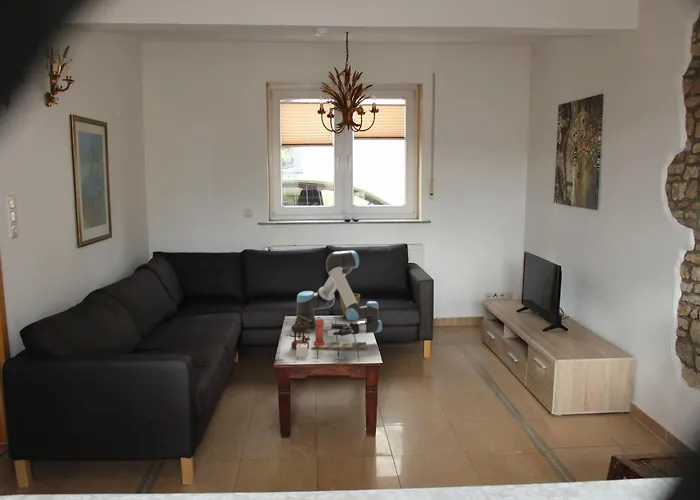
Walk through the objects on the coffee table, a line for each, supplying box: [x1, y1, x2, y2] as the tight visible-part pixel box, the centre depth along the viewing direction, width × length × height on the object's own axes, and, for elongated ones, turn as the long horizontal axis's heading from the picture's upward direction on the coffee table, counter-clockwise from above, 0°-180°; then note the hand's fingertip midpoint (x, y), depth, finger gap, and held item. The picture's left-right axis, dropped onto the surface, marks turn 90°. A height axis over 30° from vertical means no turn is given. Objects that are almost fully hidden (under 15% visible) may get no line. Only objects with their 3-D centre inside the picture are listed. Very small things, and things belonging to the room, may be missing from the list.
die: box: [295, 344, 308, 358], centre depth 341 cm, size 6×6×6 cm
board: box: [310, 341, 368, 351], centre depth 358 cm, size 33×12×2 cm, turn 90°
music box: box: [286, 316, 312, 351], centre depth 353 cm, size 15×11×20 cm
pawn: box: [313, 317, 326, 346], centre depth 357 cm, size 7×7×16 cm
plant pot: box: [339, 292, 361, 318], centre depth 433 cm, size 15×15×16 cm
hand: (324, 330), depth 357 cm, fingers open, 13 cm apart
